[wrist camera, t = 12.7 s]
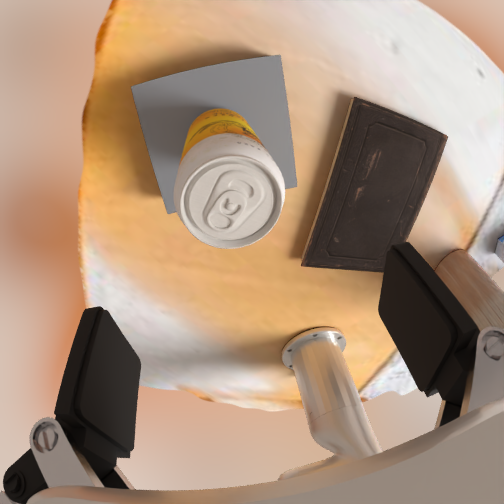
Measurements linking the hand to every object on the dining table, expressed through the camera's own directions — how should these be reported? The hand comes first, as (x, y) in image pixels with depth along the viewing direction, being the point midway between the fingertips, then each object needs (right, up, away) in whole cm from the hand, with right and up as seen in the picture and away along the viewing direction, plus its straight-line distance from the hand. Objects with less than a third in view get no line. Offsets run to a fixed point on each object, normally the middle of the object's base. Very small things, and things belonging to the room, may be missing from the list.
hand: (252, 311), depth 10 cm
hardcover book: (+16, +10, +29) cm, 35 cm away
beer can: (-3, +13, +18) cm, 22 cm away
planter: (+38, -2, +40) cm, 55 cm away
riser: (-4, +15, +21) cm, 26 cm away
